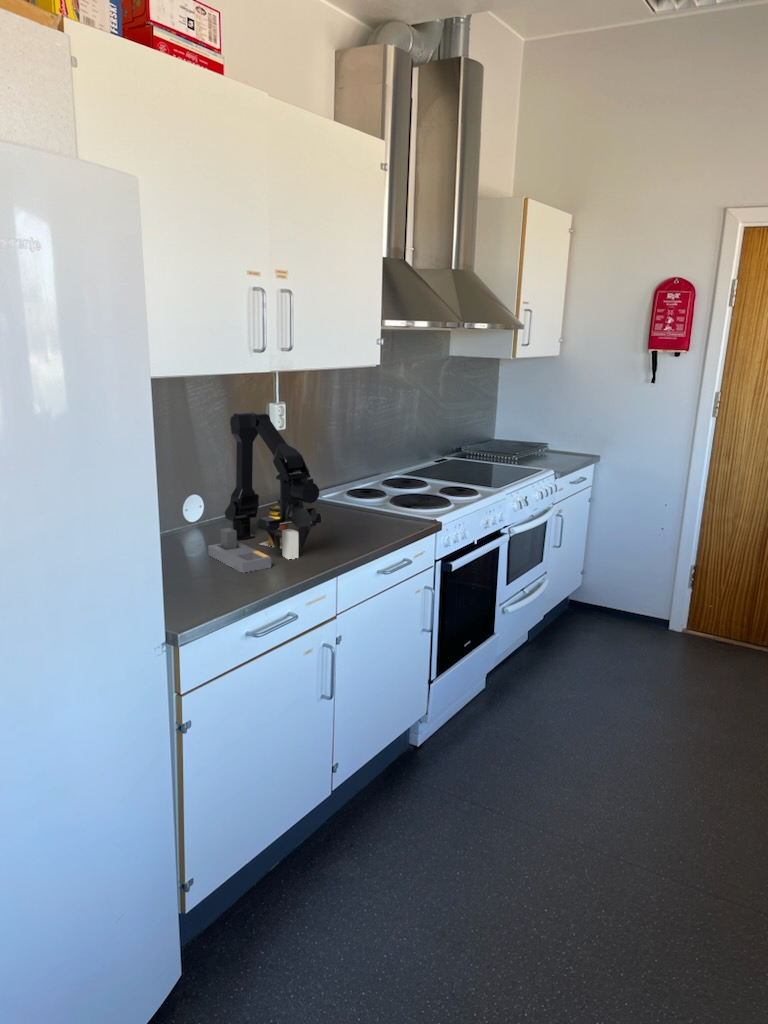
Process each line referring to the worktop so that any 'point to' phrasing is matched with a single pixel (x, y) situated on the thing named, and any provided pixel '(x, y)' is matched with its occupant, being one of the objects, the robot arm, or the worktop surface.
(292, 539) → the plug
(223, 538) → the dark gray block
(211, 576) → the worktop surface
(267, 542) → the condiment
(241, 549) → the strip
